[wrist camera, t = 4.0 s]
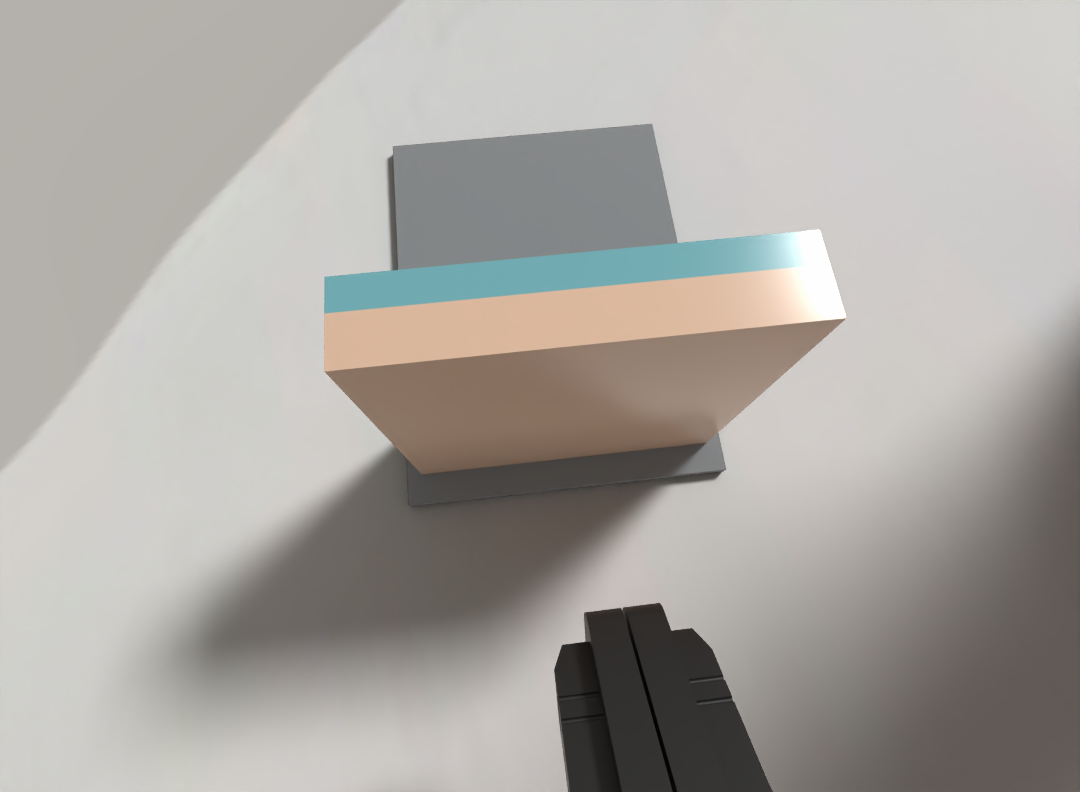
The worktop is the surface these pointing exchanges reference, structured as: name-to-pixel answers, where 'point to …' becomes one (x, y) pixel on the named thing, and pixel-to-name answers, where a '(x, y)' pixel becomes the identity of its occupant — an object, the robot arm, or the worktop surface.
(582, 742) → the robot arm
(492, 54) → the worktop surface
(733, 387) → the tile
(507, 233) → the mat
